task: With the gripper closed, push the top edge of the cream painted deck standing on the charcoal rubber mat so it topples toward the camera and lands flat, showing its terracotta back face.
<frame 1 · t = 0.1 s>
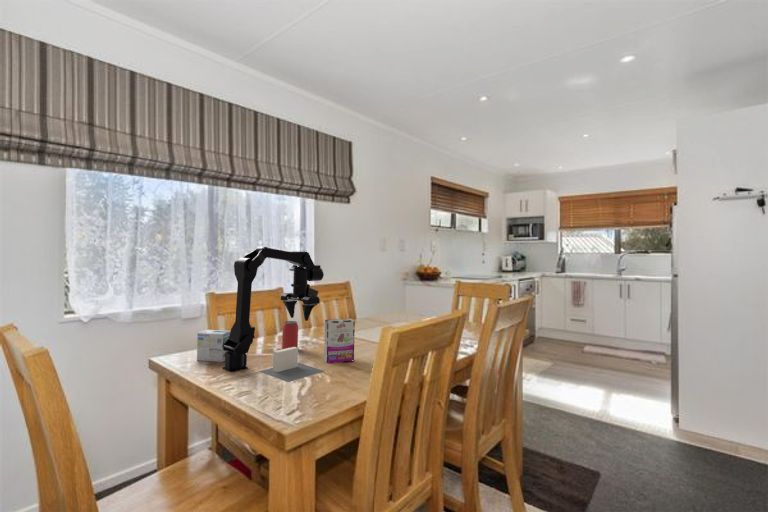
hand: (299, 319, 158), 15 cm above the table, fingers open, 9 cm apart
mat: (292, 372, 135), on the table
beer can: (289, 350, 165), on the table
deck: (285, 368, 137), resting on mat
light bulb box: (214, 359, 148), on the table
candy bar box: (338, 361, 150), on the table
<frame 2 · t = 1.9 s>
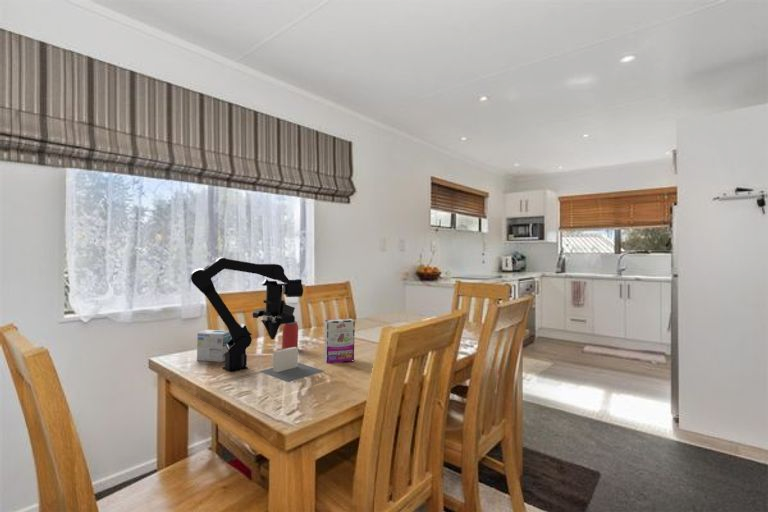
hand: (272, 339, 142), 10 cm above the table, fingers closed
nothing on the table moved.
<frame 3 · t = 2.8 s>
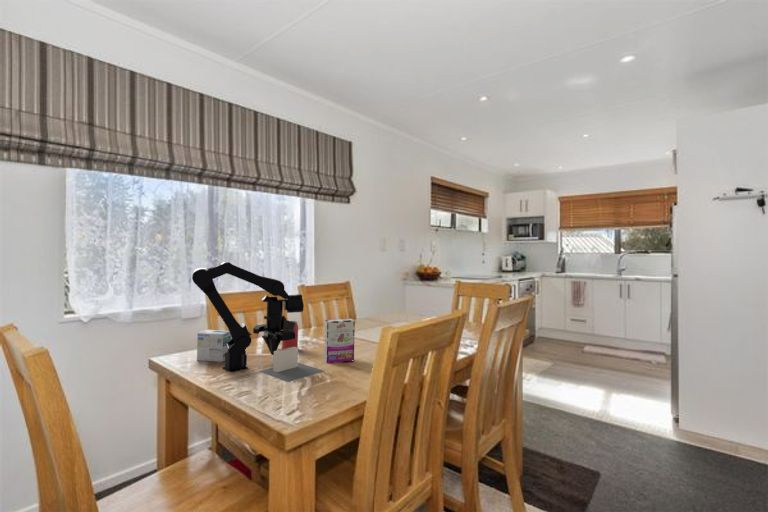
hand: (273, 355, 142), 4 cm above the table, fingers closed
nothing on the table moved.
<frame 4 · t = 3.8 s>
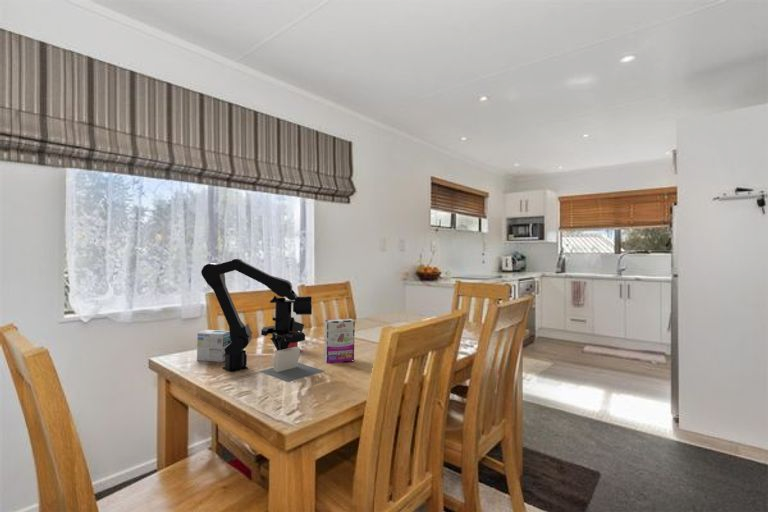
hand: (282, 357, 139), 4 cm above the table, fingers closed
deck: (285, 368, 137), point 1 cm above the table, tilted 10°, touching mat
everything else where it was.
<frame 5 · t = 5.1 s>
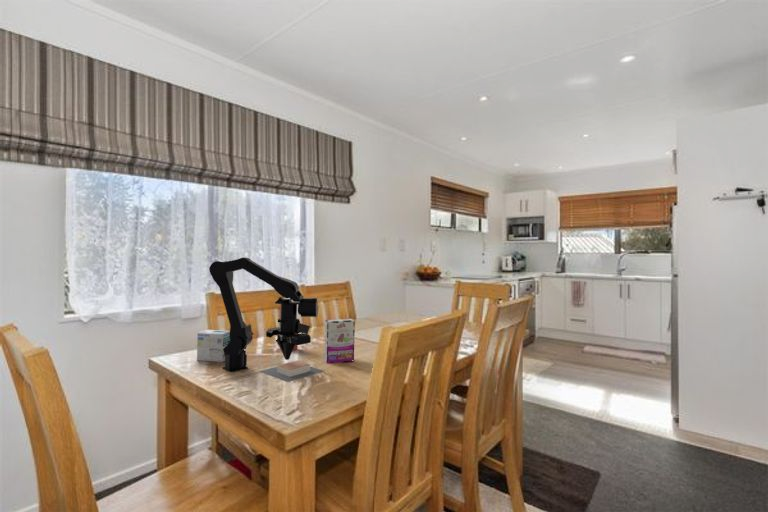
hand: (287, 359, 137), 4 cm above the table, fingers closed
deck: (287, 366, 137), point 2 cm above the table, tilted 90°, touching mat
everything else where it was.
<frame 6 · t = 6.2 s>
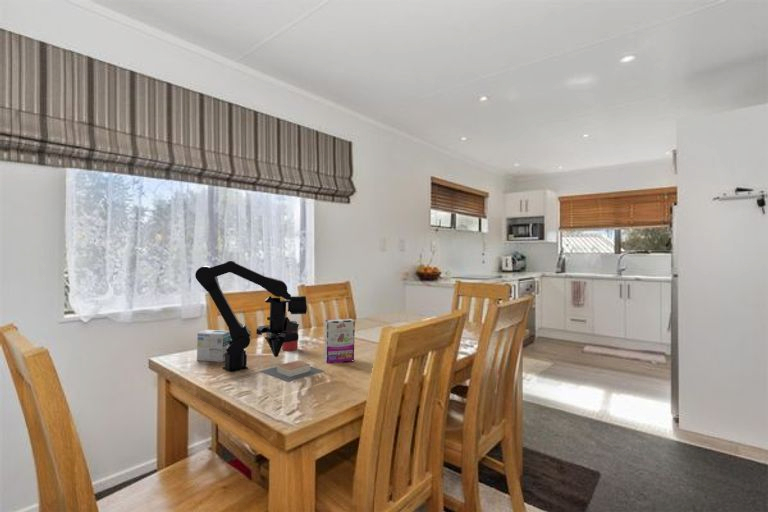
hand: (276, 356, 141), 4 cm above the table, fingers closed
nothing on the table moved.
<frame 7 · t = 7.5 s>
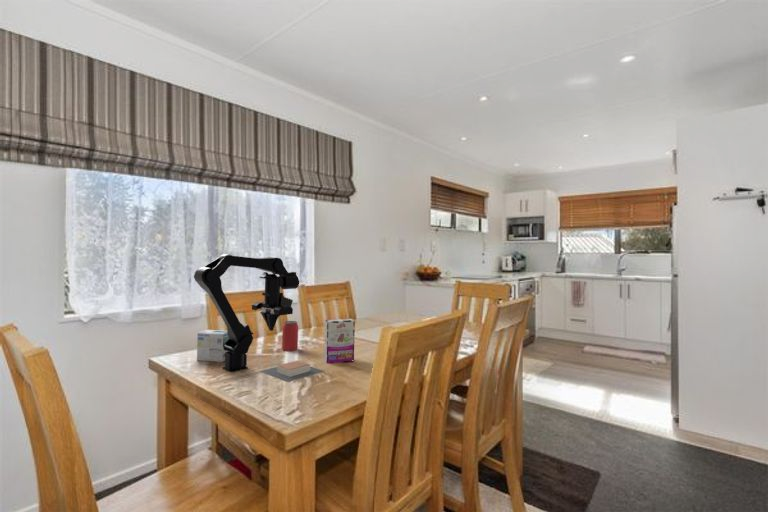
hand: (271, 330, 146), 12 cm above the table, fingers closed
nothing on the table moved.
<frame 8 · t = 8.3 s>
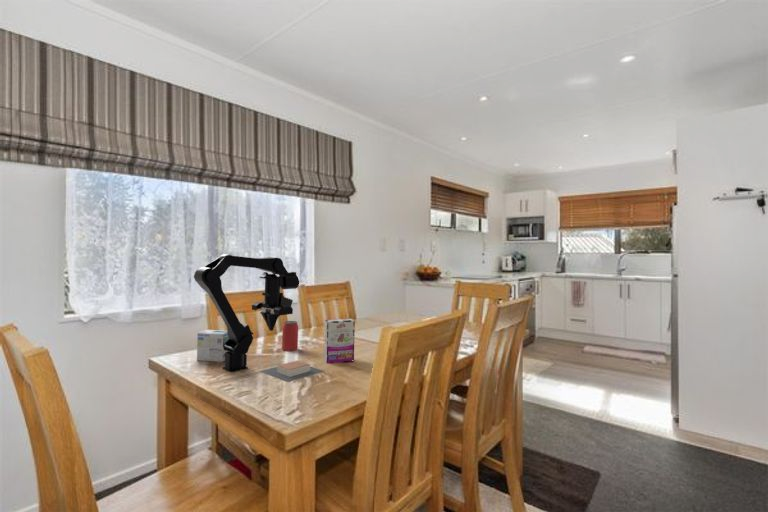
hand: (271, 330, 146), 12 cm above the table, fingers closed
nothing on the table moved.
at the end: deck tilted 90°; deck inside the target area on the mat (3.7 cm from its centre), point 1.5 cm above the mat's base; deck point 1.5 cm above the table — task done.
